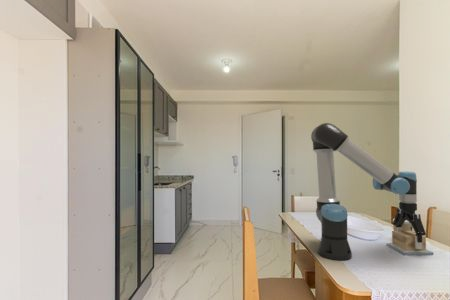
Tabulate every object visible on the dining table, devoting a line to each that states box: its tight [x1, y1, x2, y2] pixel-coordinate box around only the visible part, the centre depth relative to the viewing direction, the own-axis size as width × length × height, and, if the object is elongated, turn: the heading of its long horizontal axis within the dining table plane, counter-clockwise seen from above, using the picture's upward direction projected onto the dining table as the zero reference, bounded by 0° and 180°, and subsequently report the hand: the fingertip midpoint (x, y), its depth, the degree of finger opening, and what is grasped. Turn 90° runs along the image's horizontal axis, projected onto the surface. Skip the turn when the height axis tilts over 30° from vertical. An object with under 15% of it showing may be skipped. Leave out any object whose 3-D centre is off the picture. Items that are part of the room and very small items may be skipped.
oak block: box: [391, 230, 427, 251], centre depth 135 cm, size 10×10×7 cm
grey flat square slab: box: [385, 242, 434, 256], centre depth 135 cm, size 14×14×1 cm
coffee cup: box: [392, 217, 413, 231], centre depth 148 cm, size 9×9×12 cm
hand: (408, 244), depth 135 cm, fingers open, 13 cm apart
